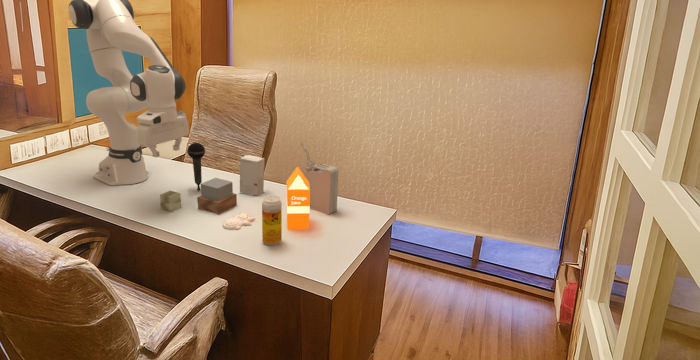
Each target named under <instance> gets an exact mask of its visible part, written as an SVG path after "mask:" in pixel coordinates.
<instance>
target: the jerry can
mask: <svg viewBox="0 0 700 360" xmlns="http://www.w3.org/2000/svg"><path fill="white" fill-rule="evenodd" d="M300 145H301V147H302V148H303V151H304V152H305V155H306V161H307V162H306V163H307V165H303V169H304V170H305V172H304V173H303V175H304V176H305V178H306V179H307V180H308V182H309V187H310V205H309V206H310V209H312V210H315V211H316V212H319V213H322V214H325V215H330V214H332V213H335V212H337V210H338V192H339V191H338V187H339V169H338V167H337V166H333V165H328V164H326V163H325V164H324V163H320V164H318V163H315V162H314V161H313V160H311V158H310V153H309V150H308V148H307V146H306V144H305V142H304V141H301V142H300Z"/></svg>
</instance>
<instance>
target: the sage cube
mask: <svg viewBox="0 0 700 360" xmlns="http://www.w3.org/2000/svg"><path fill="white" fill-rule="evenodd" d="M181 198H182V197H181V193H180V192H177V191H174V190H168V191H165V192H163V193H160V194H159V203H160V210H161V211H164V212H166V213H167V212H168V213H174V212H176V211H179V210H180V209H182V199H181Z"/></svg>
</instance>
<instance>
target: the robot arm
mask: <svg viewBox="0 0 700 360" xmlns="http://www.w3.org/2000/svg"><path fill="white" fill-rule="evenodd" d="M68 16H69V18H70V21H71V23H72V24H73V25H74V26H75V27H76V28H77V29H81V30H85V31H86V39H87V45H88V50H89V53H90V56H91V60H92V62H93V67H94V70H95V72H96V73H97V75H99V76H101V77H102V78H104V79H106V80H108V81H109V82H110V83H111V84H112V86H107V87H106V86H105V87H100V88H97V89H93V90H91V91H89V92H88V93H87V95H86V99H85V103H86V104H85V105H86V107H87V110H88V111H89V112H90V113H91V114H92V115H93V116H96V117H97V118H99V120H100V121H102V122H103V124H104V125H105V127H106V129H107V132H108V133H107V134H108V139H109V144H110V147H107V148H106V151H107V152H108V155H107V156H106V157H105V158H104V159H102V160H101V161H100V162H99V163H98V172H95V173H94V174H93V175H92V178H93V179H95V180H98V181H100V182H102V183H104V184H106V185H109V186H119V185H123V186H124V185H133V184H138V183H142V182H144V181H146V180H148V178H149V176H148V174H149V171H148V170H147V168H146V164H145V159H144V156H143V147H144V148H148V149H149V150H150V152H151V153H152V154H151V155H152V157H153V158H158V157H160V151H159V150H157V149H156V148H157V146H158V145H160V144H164V143H167V142H171V141H174V145H172V150H173V151H175V152H176V151H180V146H181V143H182V140H183V139H182V138H184V137H187V136H188V135H189V134H190V127H189V122H188V119H187V113H185V111H183V110H178V111H177V104H176V101H175V100H179V99H181V97H182V96H183V95H184V94H185V92H186V88H187V85H186V81H185V79H184V77H183V75H182V74H181V73H180V72H179V71H177V69H175V67H174V66H173V64H172V63H171V61H170V60H169V59H168V57H167V56H166V54H165V53H164V52H163V50H162V49H161V47H160V46H159V45H158V43H157V42H156V41H155V40H154V38H153V37H151V36H150V35H149V34H146V33H145V32H144V31H143V30H142V29H141V28H140V27H139V26H138V25H137V23H136V22H135V21H134V19H135V18H134V17H135V14H134V8H133V6H132V4H131V2H130V1H129V0H71V1H70V3H69V4H68ZM123 52H128V53H133V54H136V55H138V56H142V57H144V58H146V59H147V60H149V62H150V63H151V64H152V65H149V66H147V67H146V69H145V71H143V72H141V73H137V74H134V75H132V74H131V72H130V70H129V68H128V67H127V66H128V65H127V64H126V61H125V58H124V55H123ZM147 108H148V109H147ZM145 109H147V110H146V111H144V112H142V113H141V114H139V115H137V117H136V122H137V123H138V125H137V126H136V124H134V123H132V122H131V121H130V122H129V121H127V119H126V116H125V114H129V113H134V112H136V113H137V112H139V111H142V110H145Z"/></svg>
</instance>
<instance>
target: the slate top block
mask: <svg viewBox="0 0 700 360" xmlns="http://www.w3.org/2000/svg"><path fill="white" fill-rule="evenodd" d="M233 188H234V185H233V181H230V180H227V179H221V178H218V177H214V178H212V179H209V180H207V181H204V182H202V183H200V196H201V197H204V198H208V199H212V200H215V201H220V200H222V199H224V198H226V197H228V196H230V195H232V194H233V193H234V192H233V191H234V189H233Z"/></svg>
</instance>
